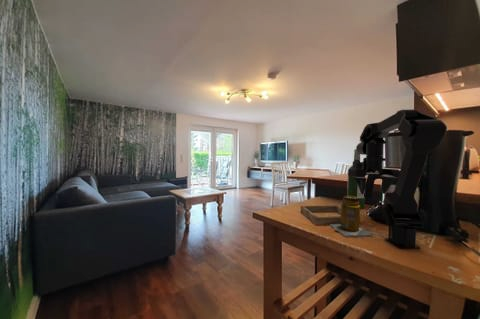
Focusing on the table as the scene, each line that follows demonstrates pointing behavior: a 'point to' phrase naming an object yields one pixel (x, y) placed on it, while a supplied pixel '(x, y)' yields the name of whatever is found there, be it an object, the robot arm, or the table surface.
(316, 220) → the wooden tray
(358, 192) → the wine bottle
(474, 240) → the table surface
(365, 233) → the rubber mat
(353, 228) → the condiment
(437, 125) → the robot arm
